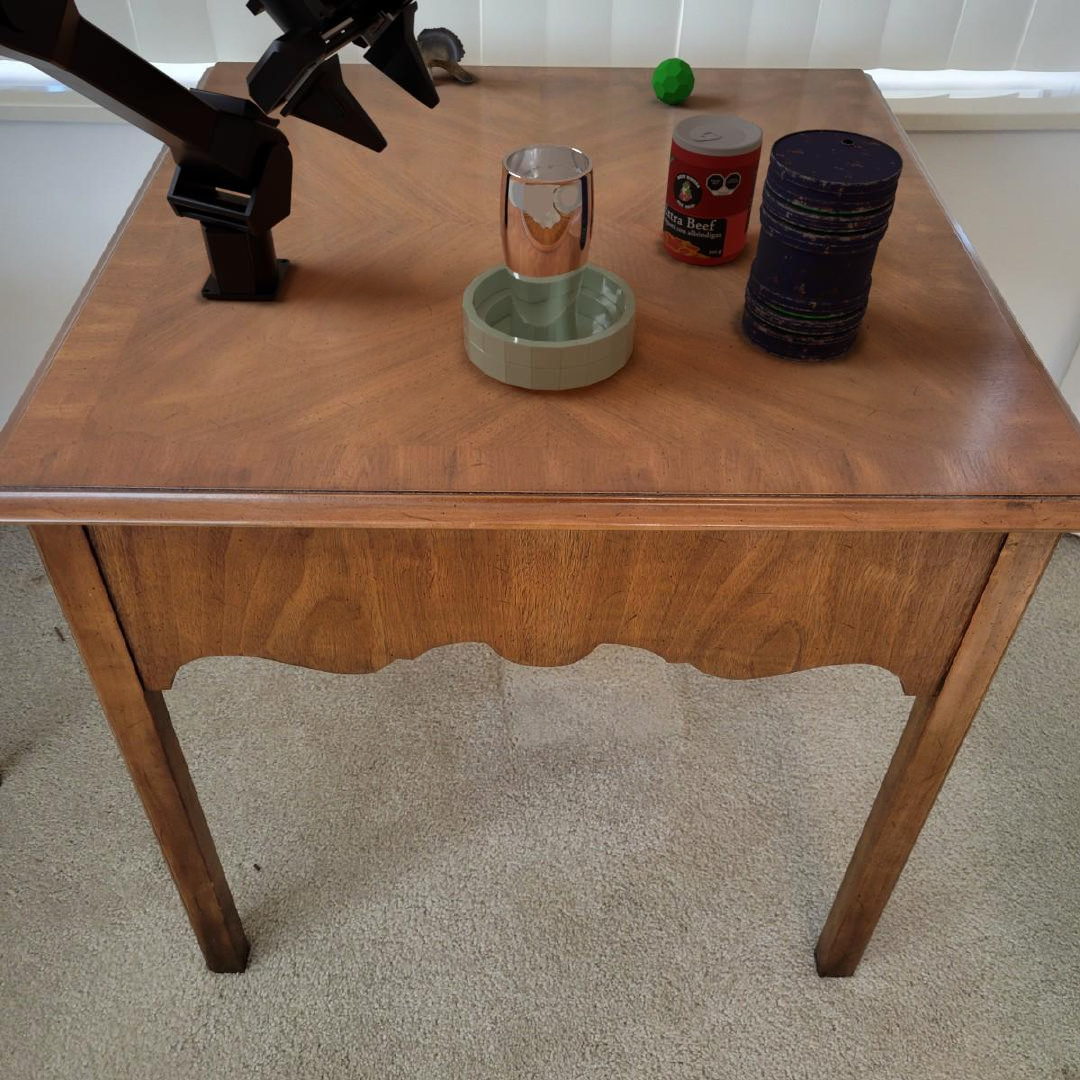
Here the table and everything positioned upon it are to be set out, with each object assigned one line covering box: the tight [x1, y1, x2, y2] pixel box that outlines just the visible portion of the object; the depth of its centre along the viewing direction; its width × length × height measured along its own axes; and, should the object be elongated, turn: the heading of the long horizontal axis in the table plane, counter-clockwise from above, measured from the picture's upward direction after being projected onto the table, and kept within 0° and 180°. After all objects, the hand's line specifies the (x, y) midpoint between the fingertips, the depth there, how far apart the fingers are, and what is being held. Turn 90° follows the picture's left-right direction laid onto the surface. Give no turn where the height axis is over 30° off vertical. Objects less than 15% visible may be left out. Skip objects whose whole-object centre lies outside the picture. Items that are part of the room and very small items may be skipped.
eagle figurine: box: [416, 26, 475, 84], centre depth 124 cm, size 8×7×9 cm
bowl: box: [461, 261, 637, 391], centre depth 82 cm, size 14×14×4 cm
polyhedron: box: [651, 57, 696, 106], centre depth 120 cm, size 5×5×5 cm
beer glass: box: [499, 142, 595, 342], centre depth 78 cm, size 7×7×15 cm
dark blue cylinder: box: [740, 128, 904, 363], centre depth 81 cm, size 10×10×15 cm
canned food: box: [661, 113, 764, 266], centre depth 92 cm, size 8×8×11 cm
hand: (411, 126), depth 83 cm, fingers open, 9 cm apart
